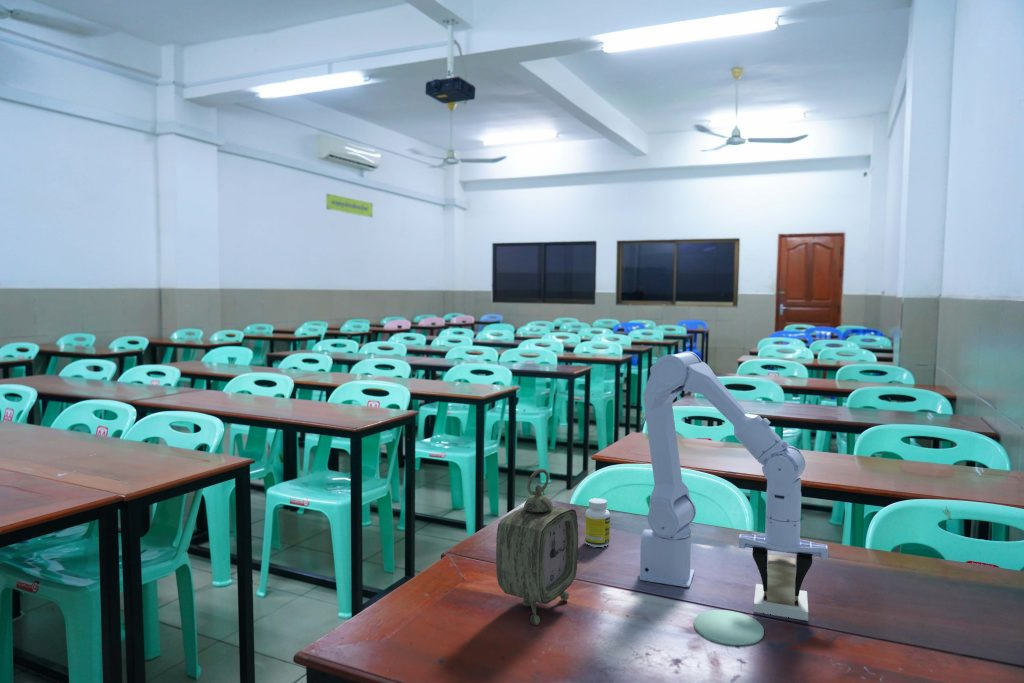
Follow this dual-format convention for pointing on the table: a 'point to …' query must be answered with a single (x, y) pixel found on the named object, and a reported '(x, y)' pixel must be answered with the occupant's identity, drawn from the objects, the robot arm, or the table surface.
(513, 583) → the tabletop clock
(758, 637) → the coaster
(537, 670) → the table surface
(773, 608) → the frame
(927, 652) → the table surface
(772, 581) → the maple block
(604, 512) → the supplement bottle
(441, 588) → the table surface
